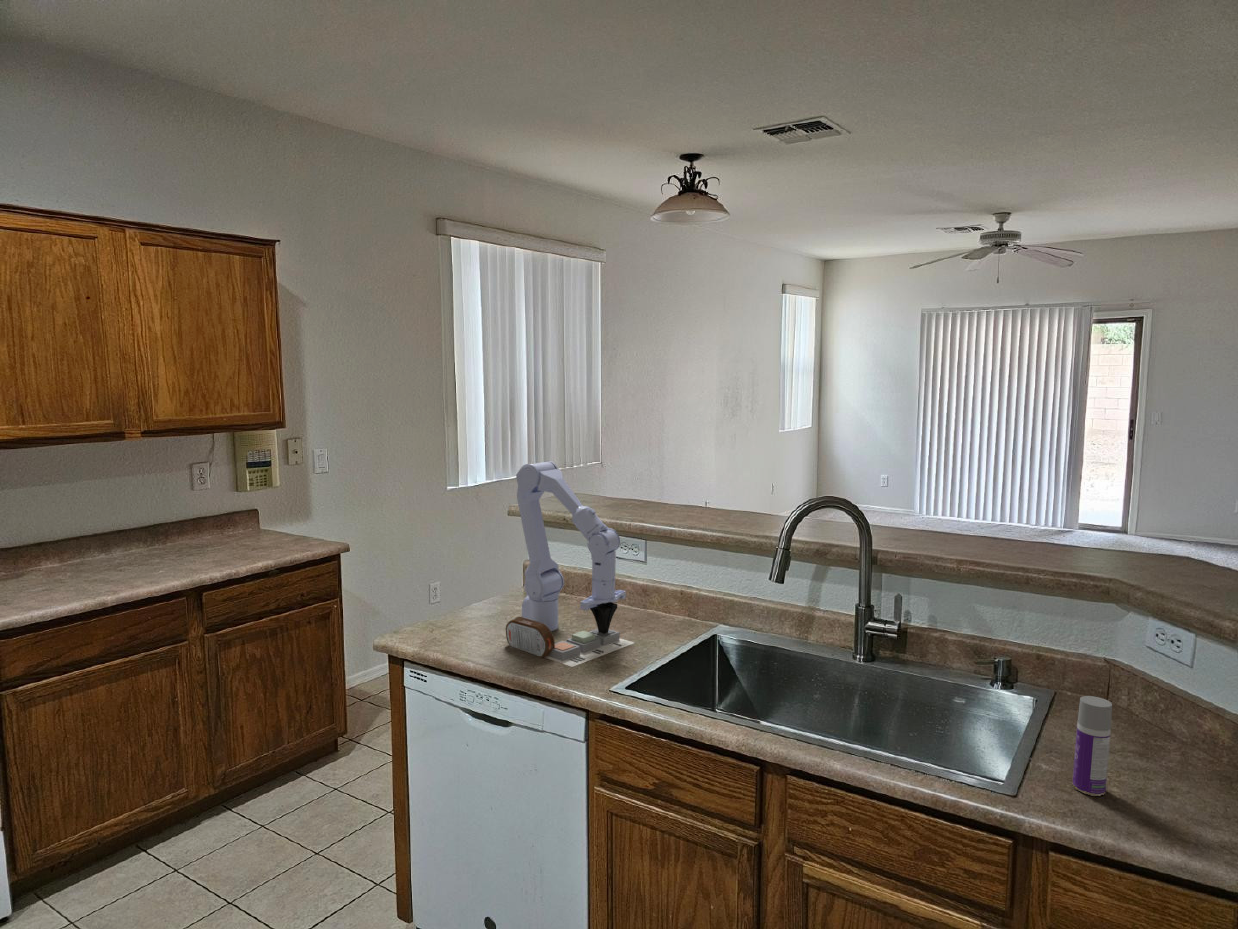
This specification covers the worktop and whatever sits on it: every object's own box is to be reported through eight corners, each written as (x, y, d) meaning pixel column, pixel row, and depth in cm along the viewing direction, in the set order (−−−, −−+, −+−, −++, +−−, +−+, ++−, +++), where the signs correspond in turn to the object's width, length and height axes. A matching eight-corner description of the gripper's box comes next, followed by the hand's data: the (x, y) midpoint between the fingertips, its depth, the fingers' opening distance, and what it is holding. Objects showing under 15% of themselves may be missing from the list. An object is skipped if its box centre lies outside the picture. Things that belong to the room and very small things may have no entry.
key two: (571, 642, 189) (571, 634, 189) (583, 638, 192) (583, 630, 192) (583, 646, 186) (583, 638, 186) (595, 642, 189) (595, 634, 189)
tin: (556, 659, 183) (554, 624, 182) (546, 663, 180) (544, 628, 179) (514, 646, 193) (512, 613, 192) (504, 650, 190) (502, 616, 189)
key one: (591, 639, 194) (591, 632, 194) (602, 636, 197) (602, 628, 197) (603, 643, 192) (603, 635, 191) (614, 639, 194) (614, 631, 194)
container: (1065, 782, 130) (1072, 696, 128) (1092, 781, 130) (1099, 695, 129) (1084, 797, 125) (1092, 707, 124) (1112, 796, 126) (1120, 707, 124)
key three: (550, 654, 184) (550, 646, 183) (562, 650, 187) (562, 642, 186) (562, 658, 181) (562, 650, 181) (574, 654, 184) (574, 645, 184)
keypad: (537, 658, 184) (537, 646, 184) (600, 636, 200) (600, 624, 200) (572, 671, 176) (572, 658, 176) (634, 646, 193) (635, 635, 193)
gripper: (595, 587, 185) (595, 643, 186) (635, 576, 195) (634, 629, 197) (574, 582, 189) (573, 636, 191) (614, 571, 200) (613, 623, 201)
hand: (603, 632), depth 194 cm, fingers closed, pressing on key one
